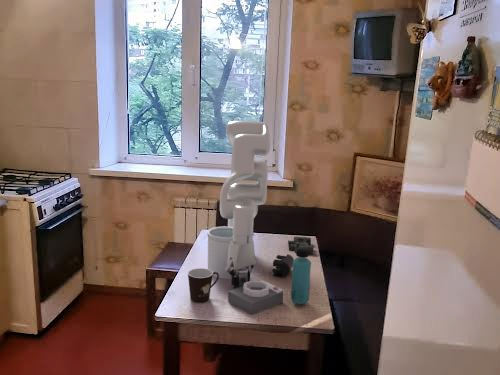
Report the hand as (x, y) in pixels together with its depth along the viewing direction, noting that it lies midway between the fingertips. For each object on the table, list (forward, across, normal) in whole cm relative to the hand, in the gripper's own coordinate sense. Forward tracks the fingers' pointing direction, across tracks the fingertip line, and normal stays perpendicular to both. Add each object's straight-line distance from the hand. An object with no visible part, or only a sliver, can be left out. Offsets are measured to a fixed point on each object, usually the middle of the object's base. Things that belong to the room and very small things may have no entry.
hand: (240, 283), depth 169 cm
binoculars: (+2, -52, -16) cm, 55 cm away
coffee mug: (+2, +17, 0) cm, 17 cm away
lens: (+2, 0, 0) cm, 2 cm away
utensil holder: (+2, -4, -14) cm, 15 cm away
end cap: (+2, -23, 0) cm, 23 cm away
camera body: (+1, +4, +12) cm, 13 cm away
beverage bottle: (+2, -7, +23) cm, 24 cm away
